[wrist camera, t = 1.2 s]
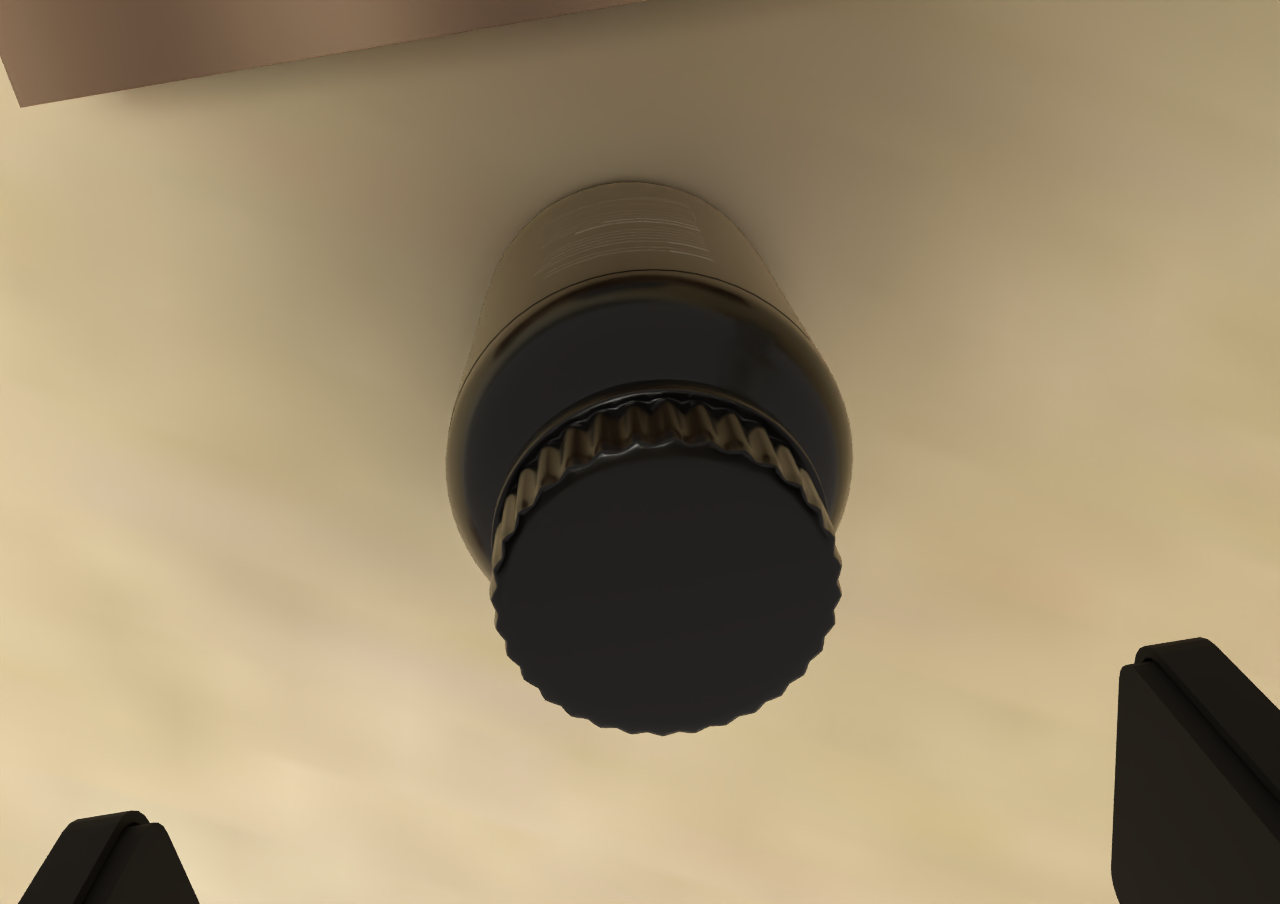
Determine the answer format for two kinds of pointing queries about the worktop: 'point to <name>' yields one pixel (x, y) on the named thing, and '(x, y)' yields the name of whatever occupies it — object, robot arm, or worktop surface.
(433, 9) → the walnut rail
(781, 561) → the supplement bottle
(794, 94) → the worktop surface
